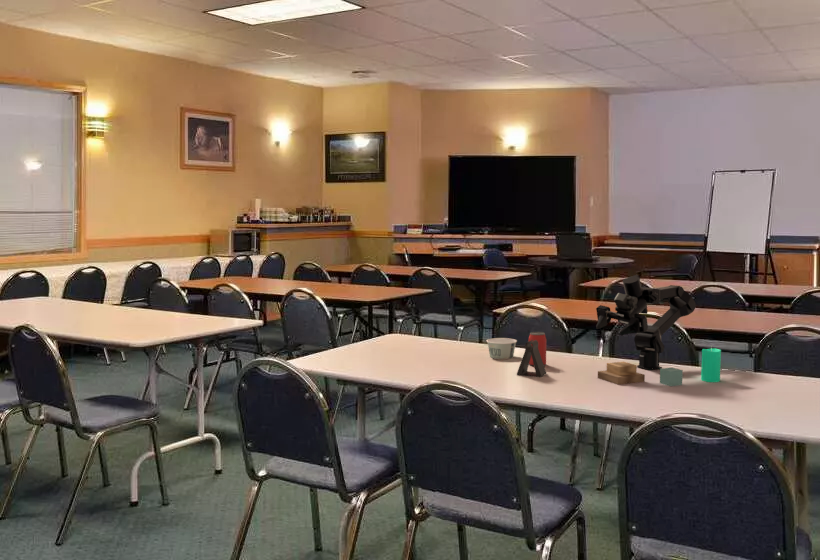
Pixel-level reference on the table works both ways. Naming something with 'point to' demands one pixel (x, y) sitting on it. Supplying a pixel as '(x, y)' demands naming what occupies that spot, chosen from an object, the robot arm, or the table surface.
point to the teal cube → (671, 376)
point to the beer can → (539, 345)
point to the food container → (501, 348)
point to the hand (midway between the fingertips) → (608, 330)
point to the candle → (711, 365)
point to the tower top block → (621, 368)
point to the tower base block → (621, 378)
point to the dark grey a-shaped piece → (536, 359)
